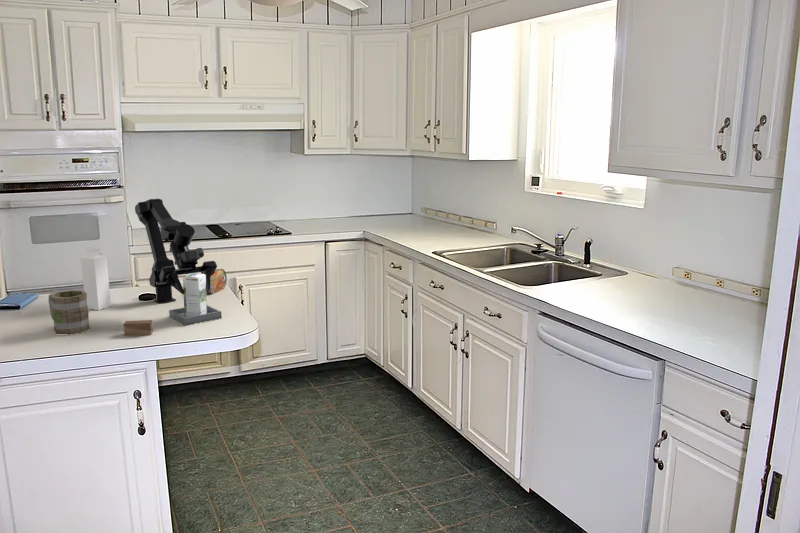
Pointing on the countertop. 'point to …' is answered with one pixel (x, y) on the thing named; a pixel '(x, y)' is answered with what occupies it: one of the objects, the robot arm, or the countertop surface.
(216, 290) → the tin
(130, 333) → the block
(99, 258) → the milk
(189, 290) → the syrup box
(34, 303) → the countertop surface
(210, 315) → the tray
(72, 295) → the mug
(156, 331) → the countertop surface
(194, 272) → the robot arm
